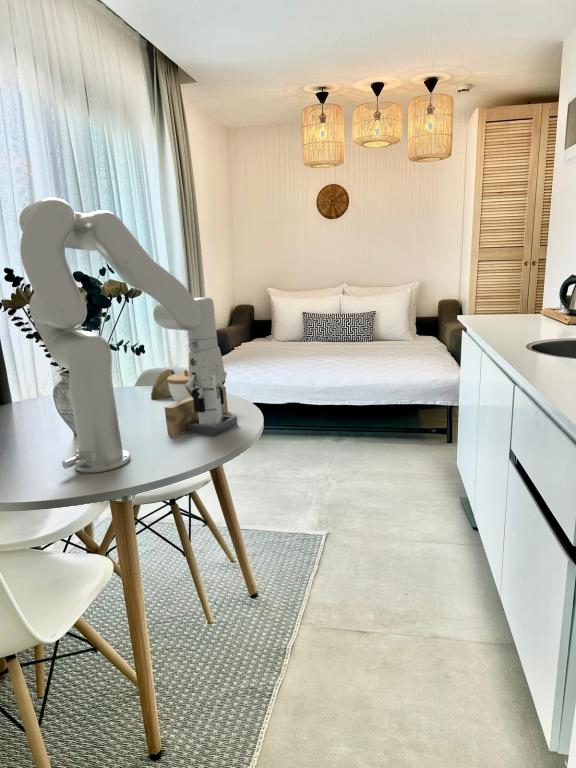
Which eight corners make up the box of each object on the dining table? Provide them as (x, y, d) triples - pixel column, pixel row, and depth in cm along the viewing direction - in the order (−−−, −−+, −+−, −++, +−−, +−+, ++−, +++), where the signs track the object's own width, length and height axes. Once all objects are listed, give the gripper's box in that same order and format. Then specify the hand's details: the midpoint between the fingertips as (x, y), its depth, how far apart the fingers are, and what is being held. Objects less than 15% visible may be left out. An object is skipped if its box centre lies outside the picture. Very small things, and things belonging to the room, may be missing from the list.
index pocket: (215, 436, 139) (214, 427, 138) (186, 432, 144) (185, 423, 143) (237, 425, 147) (236, 416, 147) (209, 421, 152) (208, 413, 152)
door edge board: (175, 436, 141) (172, 408, 139) (168, 435, 142) (164, 407, 140) (228, 411, 161) (226, 386, 159) (221, 410, 162) (219, 385, 160)
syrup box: (220, 427, 142) (215, 375, 139) (198, 428, 142) (193, 376, 139) (223, 420, 148) (218, 370, 144) (202, 422, 148) (197, 371, 145)
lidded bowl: (200, 407, 168) (196, 374, 165) (163, 407, 170) (159, 374, 168) (213, 397, 180) (210, 365, 177) (179, 397, 182) (175, 366, 180)
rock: (144, 395, 179) (171, 390, 177) (145, 372, 183) (171, 367, 181) (158, 406, 189) (184, 401, 187) (158, 384, 192) (184, 380, 191)
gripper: (192, 350, 131) (200, 418, 135) (233, 339, 145) (239, 400, 149) (170, 349, 134) (177, 415, 139) (212, 338, 149) (218, 398, 153)
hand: (209, 407), depth 144 cm, fingers closed on syrup box, 7 cm apart
